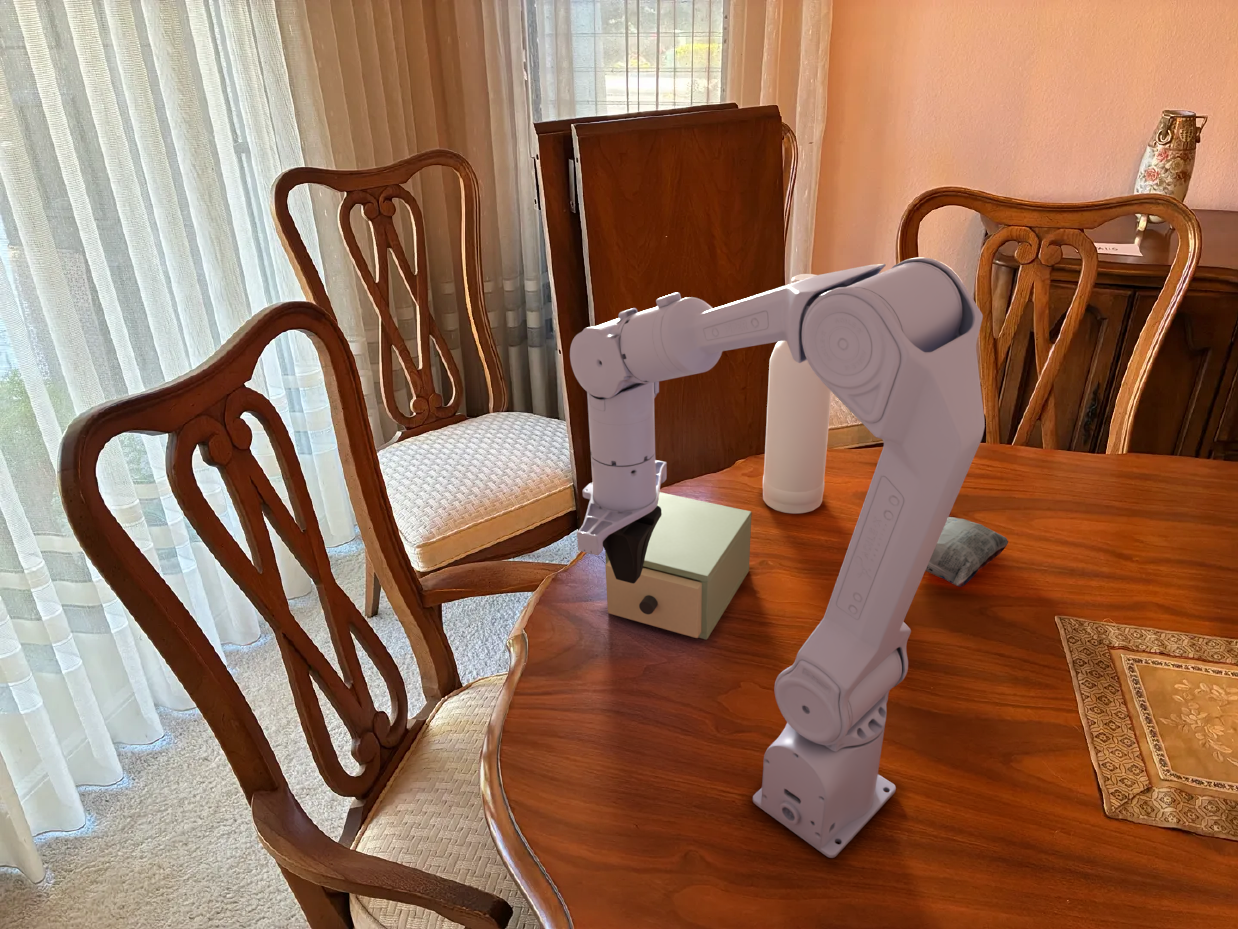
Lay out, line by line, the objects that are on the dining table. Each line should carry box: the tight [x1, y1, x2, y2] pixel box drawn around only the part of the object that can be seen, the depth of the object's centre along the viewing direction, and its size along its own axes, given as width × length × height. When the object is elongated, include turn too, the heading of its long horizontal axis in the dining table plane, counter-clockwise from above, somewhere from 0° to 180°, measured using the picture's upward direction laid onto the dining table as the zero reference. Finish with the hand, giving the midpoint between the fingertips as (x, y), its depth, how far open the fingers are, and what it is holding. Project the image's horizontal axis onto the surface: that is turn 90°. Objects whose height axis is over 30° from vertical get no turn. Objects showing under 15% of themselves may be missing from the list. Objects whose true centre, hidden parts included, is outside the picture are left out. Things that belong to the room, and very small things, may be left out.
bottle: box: [762, 273, 833, 515], centre depth 107 cm, size 8×8×30 cm
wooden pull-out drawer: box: [604, 561, 702, 639], centre depth 93 cm, size 14×10×6 cm
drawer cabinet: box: [604, 491, 752, 640], centre depth 95 cm, size 14×12×8 cm
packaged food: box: [925, 516, 1009, 588], centre depth 98 cm, size 9×12×5 cm
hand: (627, 577), depth 82 cm, fingers closed
